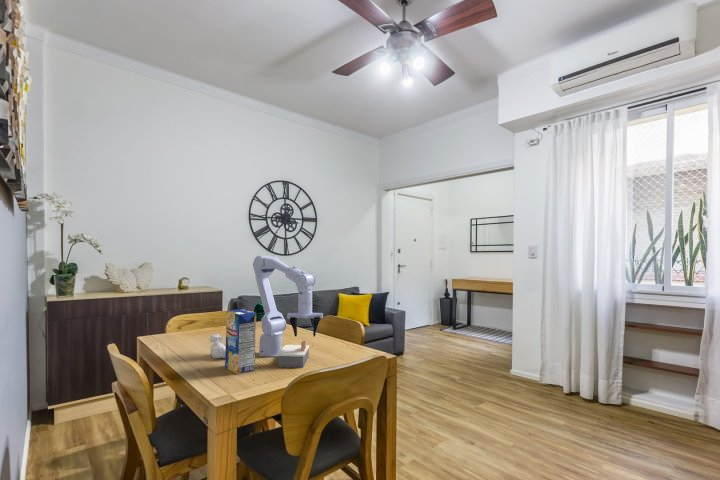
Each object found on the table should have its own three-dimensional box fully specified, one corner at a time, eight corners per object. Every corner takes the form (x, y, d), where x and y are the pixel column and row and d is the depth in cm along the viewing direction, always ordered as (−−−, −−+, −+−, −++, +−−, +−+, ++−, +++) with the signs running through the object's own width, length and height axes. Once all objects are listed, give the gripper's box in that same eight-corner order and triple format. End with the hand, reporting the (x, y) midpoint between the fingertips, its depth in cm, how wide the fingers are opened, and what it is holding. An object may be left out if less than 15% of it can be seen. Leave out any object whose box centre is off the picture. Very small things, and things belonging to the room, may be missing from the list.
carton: (277, 367, 142) (277, 356, 142) (285, 356, 156) (285, 347, 156) (302, 367, 142) (303, 357, 142) (308, 357, 156) (308, 347, 156)
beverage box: (237, 374, 133) (239, 314, 133) (224, 367, 141) (226, 310, 141) (254, 370, 137) (256, 312, 138) (241, 363, 145) (242, 308, 146)
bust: (213, 359, 158) (197, 341, 153) (227, 346, 162) (212, 328, 157) (223, 366, 149) (206, 347, 144) (237, 352, 153) (222, 333, 148)
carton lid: (277, 356, 142) (277, 345, 142) (285, 346, 156) (285, 336, 156) (303, 356, 142) (303, 345, 142) (309, 347, 156) (309, 337, 156)
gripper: (285, 304, 145) (285, 338, 145) (321, 304, 146) (321, 338, 145) (289, 301, 152) (288, 334, 152) (323, 301, 153) (323, 334, 152)
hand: (305, 335), depth 149 cm, fingers open, 7 cm apart
